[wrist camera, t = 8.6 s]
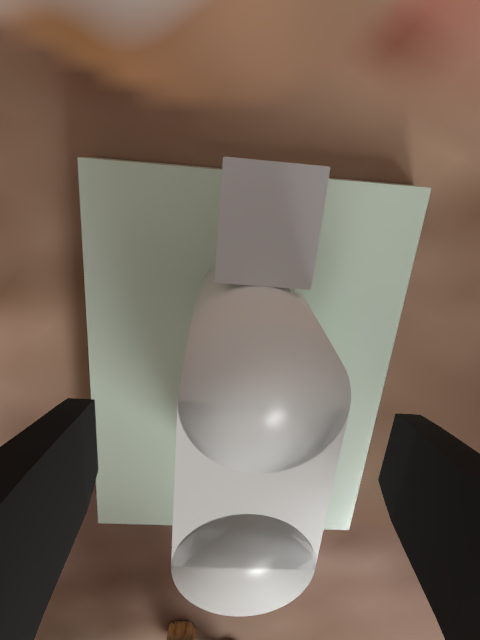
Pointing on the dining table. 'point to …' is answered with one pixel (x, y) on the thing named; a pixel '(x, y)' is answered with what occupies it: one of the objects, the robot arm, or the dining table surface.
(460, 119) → the dining table surface
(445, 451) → the robot arm
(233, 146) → the dining table surface
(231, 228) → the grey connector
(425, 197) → the pale green rectangular panel
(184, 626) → the lion figurine
